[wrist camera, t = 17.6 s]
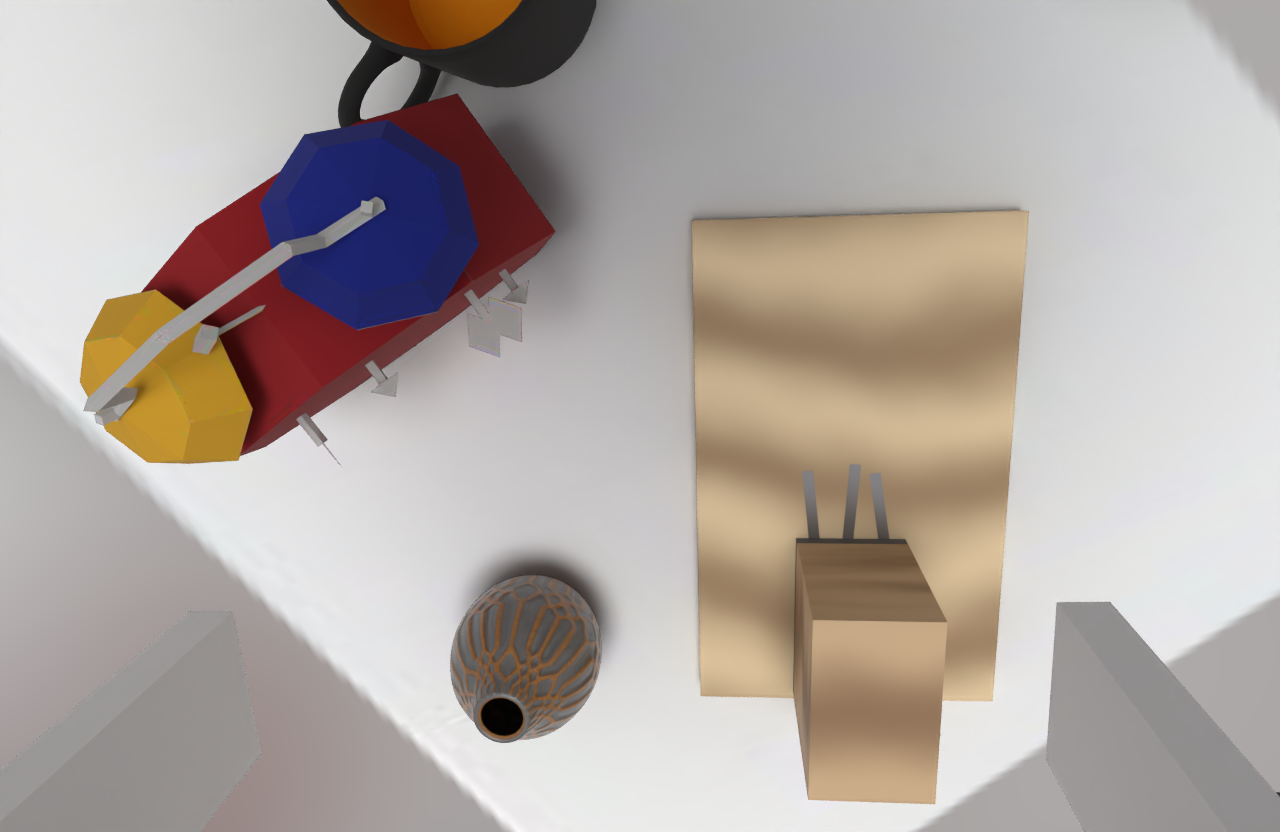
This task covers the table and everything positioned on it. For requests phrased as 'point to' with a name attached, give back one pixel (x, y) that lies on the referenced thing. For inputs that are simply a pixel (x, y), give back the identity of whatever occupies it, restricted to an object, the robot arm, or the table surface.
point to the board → (852, 421)
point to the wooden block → (867, 671)
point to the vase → (525, 658)
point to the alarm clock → (315, 287)
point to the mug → (461, 41)
